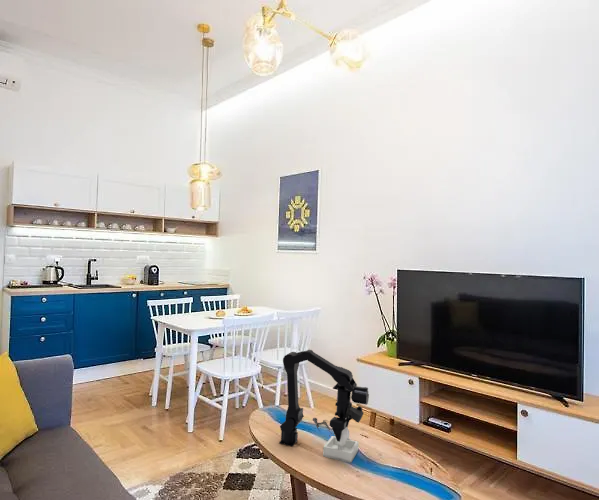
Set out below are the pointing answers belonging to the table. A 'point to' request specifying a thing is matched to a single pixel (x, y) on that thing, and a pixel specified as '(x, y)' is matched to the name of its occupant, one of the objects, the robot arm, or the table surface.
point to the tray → (338, 454)
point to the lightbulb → (343, 438)
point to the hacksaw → (320, 423)
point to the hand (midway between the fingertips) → (341, 437)
